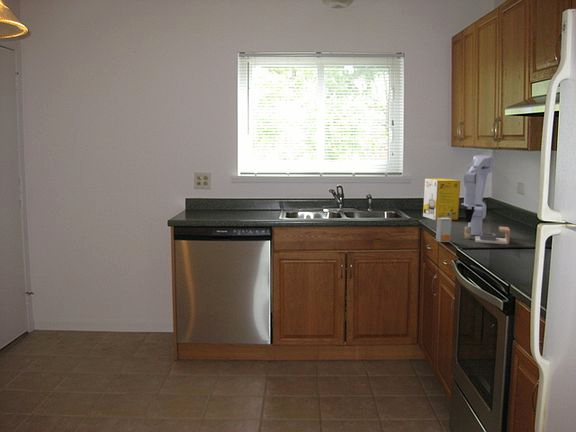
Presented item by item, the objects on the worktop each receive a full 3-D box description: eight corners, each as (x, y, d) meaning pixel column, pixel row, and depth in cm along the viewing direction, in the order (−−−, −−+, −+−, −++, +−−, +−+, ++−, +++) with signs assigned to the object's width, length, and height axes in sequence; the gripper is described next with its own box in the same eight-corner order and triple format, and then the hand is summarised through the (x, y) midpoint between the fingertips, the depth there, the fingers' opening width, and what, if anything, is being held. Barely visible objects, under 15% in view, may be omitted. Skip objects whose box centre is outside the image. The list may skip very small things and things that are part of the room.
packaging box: (422, 216, 400) (424, 178, 396) (444, 216, 404) (447, 178, 400) (435, 220, 384) (437, 180, 381) (457, 219, 388) (460, 180, 385)
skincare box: (439, 242, 304) (441, 218, 302) (435, 240, 308) (436, 217, 307) (450, 242, 306) (451, 218, 304) (446, 240, 310) (447, 217, 308)
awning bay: (475, 238, 319) (475, 225, 318) (507, 240, 315) (508, 227, 314) (475, 242, 308) (476, 228, 307) (509, 244, 303) (510, 230, 302)
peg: (464, 237, 320) (464, 226, 319) (470, 238, 319) (471, 226, 318) (464, 238, 317) (464, 227, 316) (470, 239, 316) (471, 227, 315)
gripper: (462, 193, 323) (460, 219, 325) (462, 196, 309) (460, 222, 311) (475, 194, 321) (474, 219, 323) (476, 197, 307) (474, 223, 309)
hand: (468, 221), depth 317 cm, fingers open, 7 cm apart
